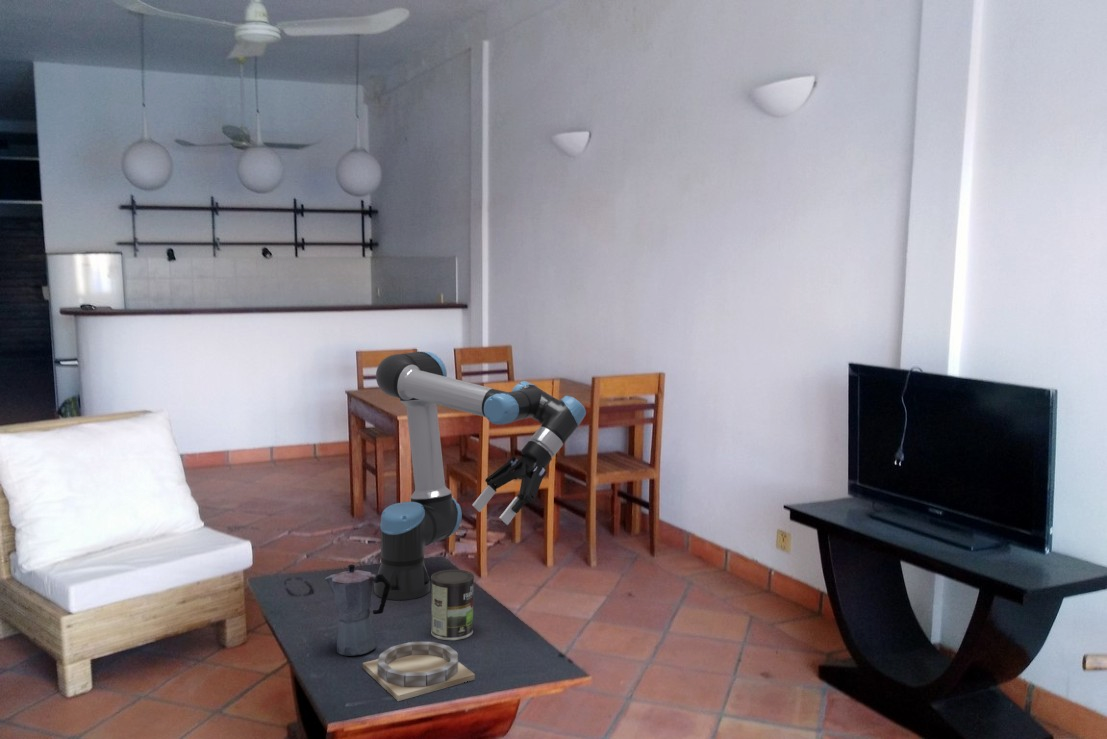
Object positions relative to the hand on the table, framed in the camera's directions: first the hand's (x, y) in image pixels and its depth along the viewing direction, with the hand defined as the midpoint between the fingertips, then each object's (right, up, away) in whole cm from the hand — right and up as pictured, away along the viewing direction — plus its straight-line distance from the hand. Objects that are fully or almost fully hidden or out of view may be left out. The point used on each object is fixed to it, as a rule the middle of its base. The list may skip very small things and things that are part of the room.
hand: (489, 514), depth 218 cm
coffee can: (-9, -28, -3) cm, 30 cm away
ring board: (-14, -30, -25) cm, 42 cm away
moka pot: (-29, -29, -13) cm, 43 cm away
